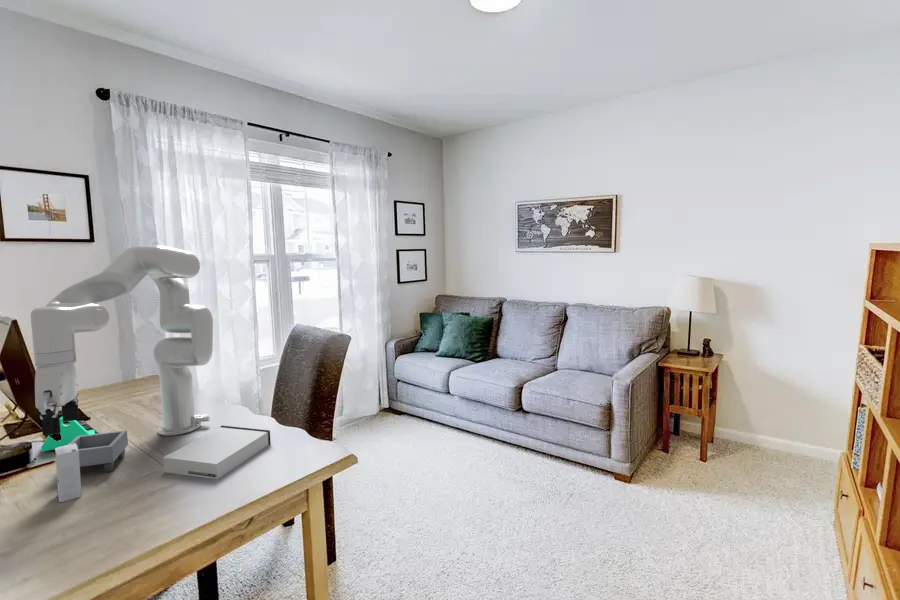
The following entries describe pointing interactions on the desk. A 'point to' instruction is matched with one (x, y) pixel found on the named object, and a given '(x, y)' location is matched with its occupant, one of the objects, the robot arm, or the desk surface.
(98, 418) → the desk surface
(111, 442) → the grey square tray
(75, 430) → the camera mount
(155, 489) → the desk surface
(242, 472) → the desk surface
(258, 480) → the desk surface
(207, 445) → the disc drive
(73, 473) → the skincare box
